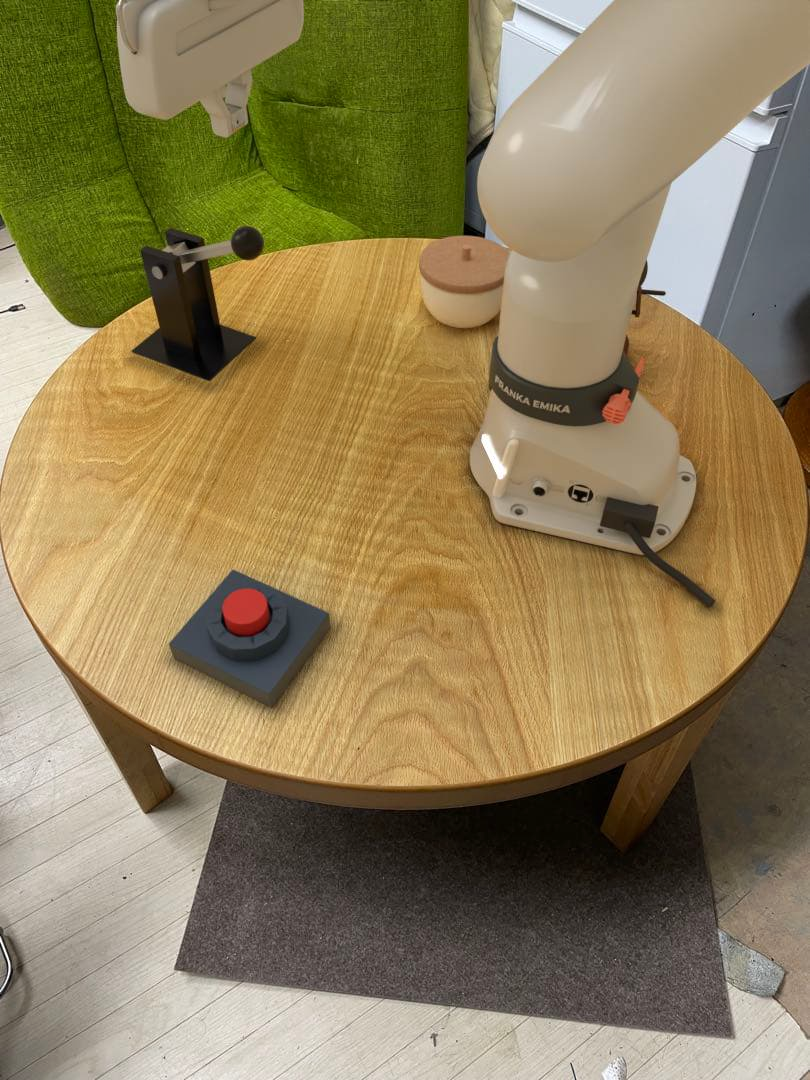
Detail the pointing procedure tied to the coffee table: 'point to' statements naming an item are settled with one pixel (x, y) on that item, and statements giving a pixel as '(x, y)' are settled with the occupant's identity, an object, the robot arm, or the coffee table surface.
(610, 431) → the robot arm
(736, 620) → the coffee table surface
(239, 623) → the button
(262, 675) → the button block
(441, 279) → the trinket box
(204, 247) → the tap lever
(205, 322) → the bracket
